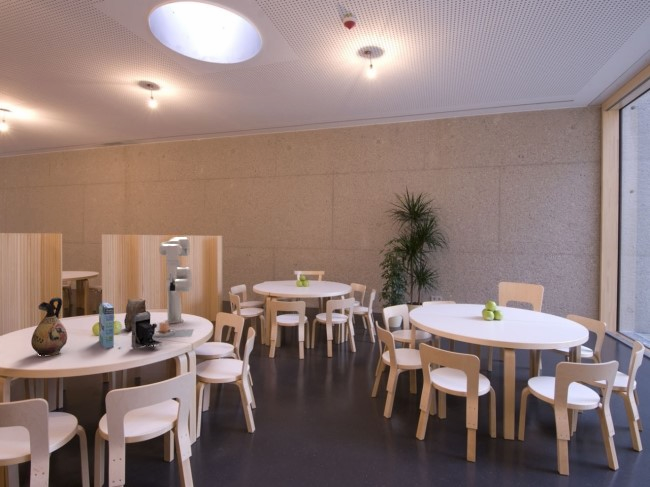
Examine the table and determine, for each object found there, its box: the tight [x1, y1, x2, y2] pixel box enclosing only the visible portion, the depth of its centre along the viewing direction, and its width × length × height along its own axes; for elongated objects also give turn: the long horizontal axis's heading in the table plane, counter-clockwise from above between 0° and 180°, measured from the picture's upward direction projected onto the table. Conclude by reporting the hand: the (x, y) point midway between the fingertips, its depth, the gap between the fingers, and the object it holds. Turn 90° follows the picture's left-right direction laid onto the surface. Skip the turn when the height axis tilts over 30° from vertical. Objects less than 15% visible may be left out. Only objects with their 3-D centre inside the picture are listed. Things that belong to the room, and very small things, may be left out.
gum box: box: [98, 302, 115, 349], centre depth 214 cm, size 20×5×23 cm, turn 39°
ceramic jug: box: [30, 296, 68, 357], centre depth 196 cm, size 17×15×30 cm
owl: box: [124, 298, 147, 333], centre depth 249 cm, size 13×13×20 cm
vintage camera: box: [131, 310, 162, 351], centre depth 206 cm, size 10×16×20 cm, turn 58°
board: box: [152, 328, 195, 340], centre depth 231 cm, size 18×24×2 cm
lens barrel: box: [153, 328, 177, 337], centre depth 230 cm, size 13×13×2 cm
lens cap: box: [159, 321, 170, 333], centre depth 230 cm, size 7×5×7 cm
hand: (172, 290), depth 243 cm, fingers closed
